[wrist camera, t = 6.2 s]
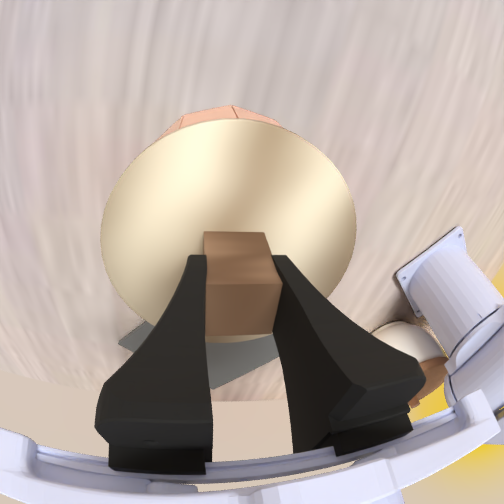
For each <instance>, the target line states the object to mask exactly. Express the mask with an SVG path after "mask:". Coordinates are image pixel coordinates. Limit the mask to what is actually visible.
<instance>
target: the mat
mask: <svg viewBox="0 0 504 504" xmlns="http://www.w3.org/2000/svg"><path fill="white" fill-rule="evenodd" d="M154 327H155V326H154V325H152V324H150V323H148V322H147V321H145V322H144V323H143V324H141V325H140V326H139V327H137V328H136V329H135V330H133V331H132V332H131V333H129V334H128V335H127V336H125V337H124V338H123V339H121V340H120V341H119V343H118V344H119V345H121V346H123V347H125V348H127V349H128V350H130V351H132V352H135V351H136V350H137V349H138V348H139V347H140V345H141V344H142V343H143V342H144V340H145V339H146V338H147V336H148V335H149V334H150V332H151V331H152V329H153V328H154ZM205 343H206V356H207V367H208V377H209V387H210V388H211V389H215V388H217V387H220V386H222V385H224V384H226V383H228V382H230V381H232V380H234V379H236V378H238V377H240V376H242V375H244V374H246V373H248V372H250V371H252V370H254V369H256V368H258V367H260V366H262V365H264V364H266V363H268V362H270V361H271V360H273V359H275V358H277V357H279V353H278V350H277V346H276V343H275V340H274V336H273V334H271V335H268V336H265V337H261V338H257V339H253V340H248V341H242V342H232V343H210V342H205Z"/></svg>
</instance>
